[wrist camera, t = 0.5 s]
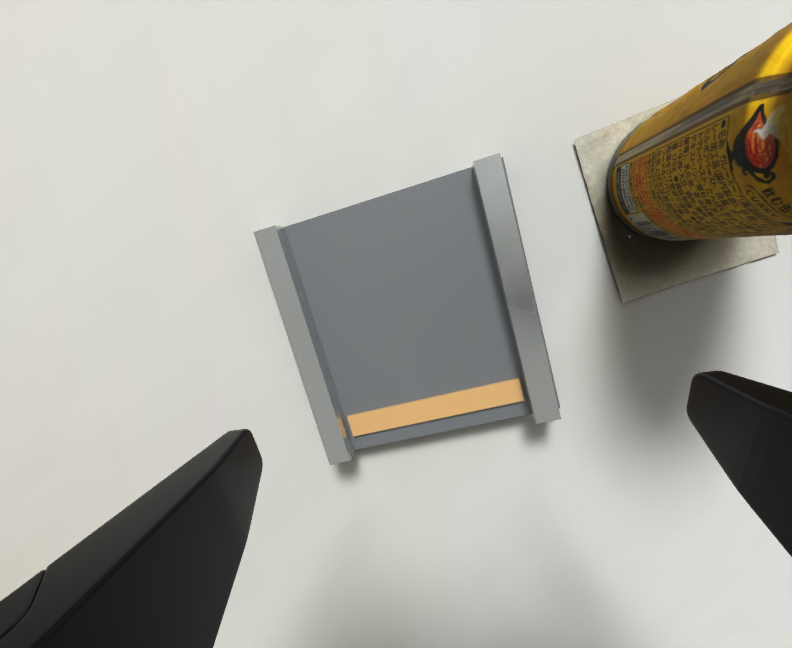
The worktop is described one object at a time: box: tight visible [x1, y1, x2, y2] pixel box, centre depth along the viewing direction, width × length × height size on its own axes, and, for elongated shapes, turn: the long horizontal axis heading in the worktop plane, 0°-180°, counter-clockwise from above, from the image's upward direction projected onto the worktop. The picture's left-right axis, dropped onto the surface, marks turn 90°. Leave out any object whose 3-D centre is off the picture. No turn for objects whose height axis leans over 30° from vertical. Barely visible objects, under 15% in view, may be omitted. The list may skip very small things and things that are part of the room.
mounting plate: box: [285, 157, 560, 450], centre depth 21 cm, size 13×13×1 cm
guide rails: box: [254, 153, 561, 465], centre depth 20 cm, size 13×12×1 cm
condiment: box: [574, 23, 792, 304], centre depth 13 cm, size 7×8×12 cm
